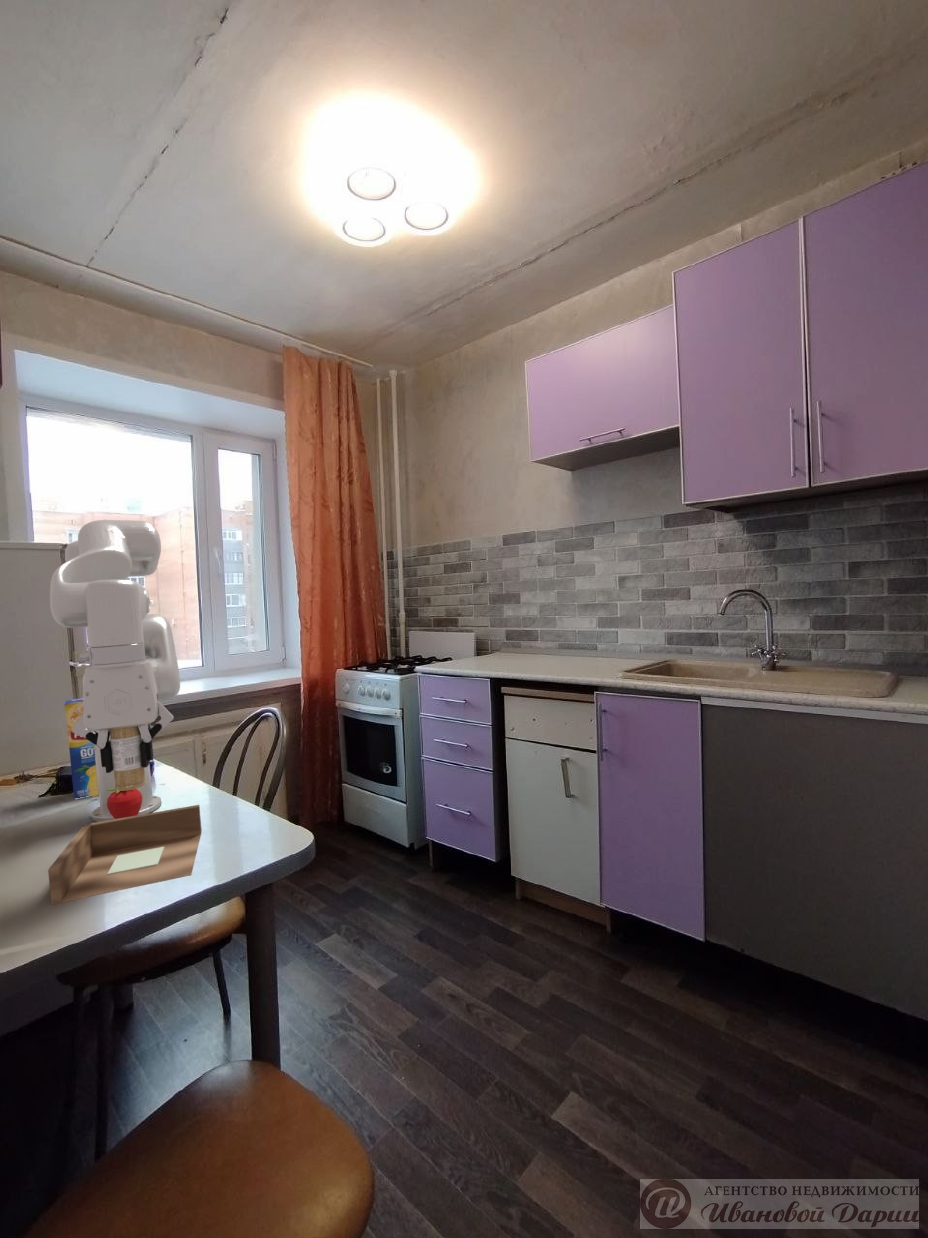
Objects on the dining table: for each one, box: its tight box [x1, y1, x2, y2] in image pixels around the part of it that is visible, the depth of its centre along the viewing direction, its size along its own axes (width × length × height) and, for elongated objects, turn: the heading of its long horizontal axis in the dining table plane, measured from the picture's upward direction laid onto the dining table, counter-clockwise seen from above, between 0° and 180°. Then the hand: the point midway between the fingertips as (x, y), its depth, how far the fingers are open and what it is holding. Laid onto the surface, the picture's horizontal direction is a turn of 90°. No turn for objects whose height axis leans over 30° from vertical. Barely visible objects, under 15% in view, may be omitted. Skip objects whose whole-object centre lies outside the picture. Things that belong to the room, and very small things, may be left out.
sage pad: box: [107, 847, 164, 875], centre depth 93 cm, size 7×7×1 cm
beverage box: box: [64, 698, 99, 799], centre depth 134 cm, size 7×11×22 cm, turn 123°
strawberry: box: [106, 788, 143, 819], centre depth 109 cm, size 6×8×10 cm
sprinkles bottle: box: [110, 726, 146, 791], centre depth 92 cm, size 5×5×14 cm
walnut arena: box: [47, 804, 203, 905], centre depth 92 cm, size 18×18×6 cm
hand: (128, 766), depth 92 cm, fingers closed on sprinkles bottle, 4 cm apart
